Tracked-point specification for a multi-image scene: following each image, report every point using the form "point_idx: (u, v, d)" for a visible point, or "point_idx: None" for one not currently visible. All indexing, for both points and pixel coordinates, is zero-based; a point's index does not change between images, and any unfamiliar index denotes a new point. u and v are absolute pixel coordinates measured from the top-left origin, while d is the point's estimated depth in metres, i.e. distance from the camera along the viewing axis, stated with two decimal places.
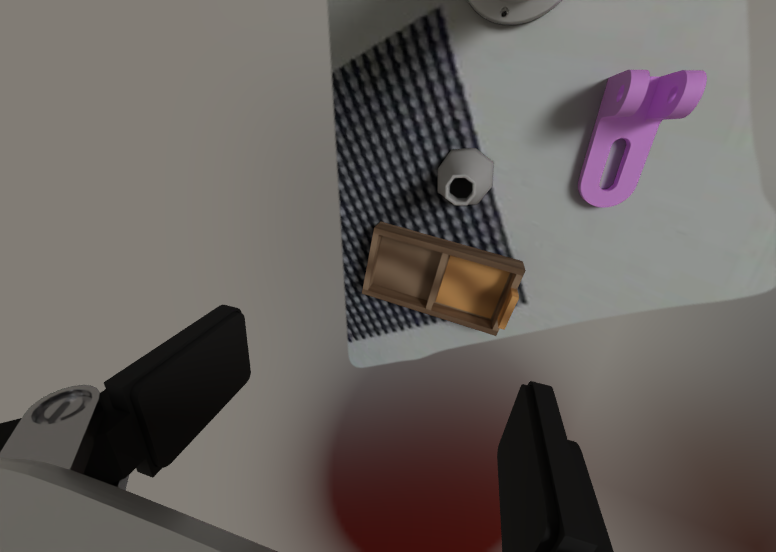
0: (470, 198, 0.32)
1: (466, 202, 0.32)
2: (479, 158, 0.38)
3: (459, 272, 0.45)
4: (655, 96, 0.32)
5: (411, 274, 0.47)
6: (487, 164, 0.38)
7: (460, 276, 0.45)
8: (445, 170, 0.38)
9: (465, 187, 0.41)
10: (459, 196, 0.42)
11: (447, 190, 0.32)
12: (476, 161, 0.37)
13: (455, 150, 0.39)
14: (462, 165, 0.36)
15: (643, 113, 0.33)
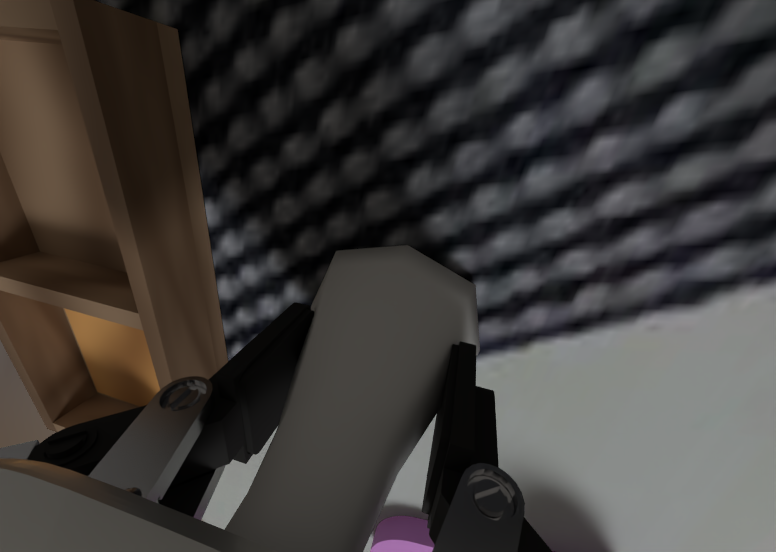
0: None
1: None
2: None
3: None
4: None
5: (69, 193, 0.14)
6: None
7: (141, 331, 0.17)
8: (397, 317, 0.09)
9: None
10: None
11: None
12: None
13: (471, 301, 0.11)
14: (417, 418, 0.08)
15: None
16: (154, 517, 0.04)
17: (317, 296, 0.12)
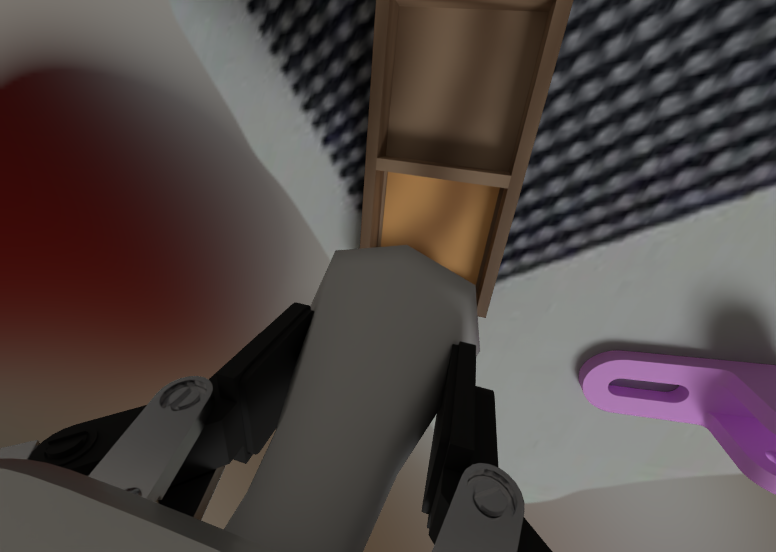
0: None
1: None
2: None
3: (457, 207, 0.24)
4: (746, 420, 0.24)
5: (438, 109, 0.22)
6: None
7: (449, 211, 0.24)
8: (396, 317, 0.09)
9: None
10: None
11: None
12: None
13: (471, 301, 0.11)
14: (416, 419, 0.08)
15: (720, 410, 0.25)
16: (154, 517, 0.04)
17: (316, 296, 0.12)
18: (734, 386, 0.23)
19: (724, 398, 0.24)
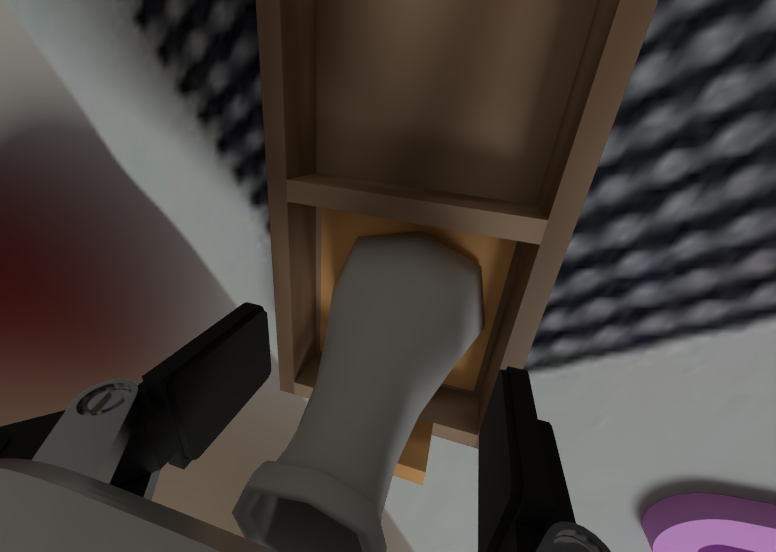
0: None
1: None
2: None
3: None
4: None
5: (404, 86, 0.12)
6: None
7: None
8: (415, 289, 0.11)
9: None
10: None
11: None
12: None
13: (477, 280, 0.13)
14: (434, 372, 0.10)
15: None
16: (154, 517, 0.04)
17: (340, 277, 0.14)
18: None
19: None
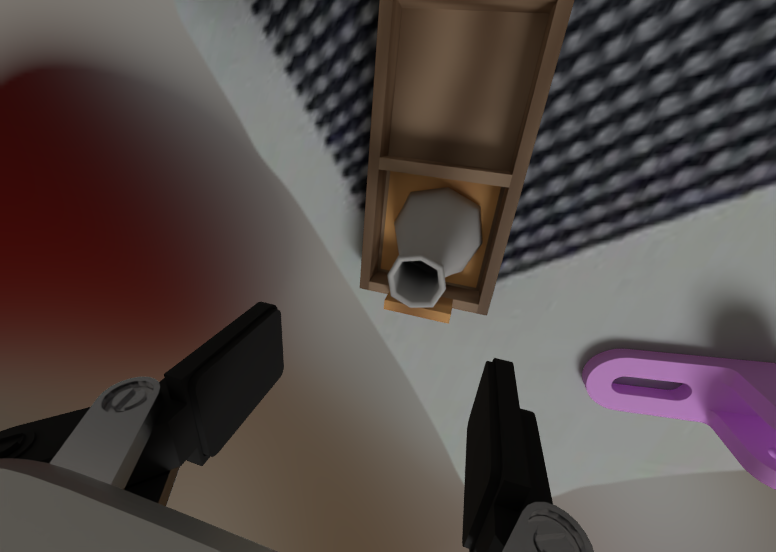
0: (403, 300, 0.18)
1: (395, 294, 0.18)
2: (467, 257, 0.24)
3: None
4: (748, 417, 0.25)
5: (440, 109, 0.22)
6: (459, 269, 0.25)
7: None
8: (447, 212, 0.22)
9: None
10: None
11: (412, 259, 0.17)
12: (463, 259, 0.23)
13: (478, 213, 0.24)
14: (457, 248, 0.21)
15: (723, 408, 0.25)
16: (154, 517, 0.04)
17: (401, 214, 0.25)
18: (737, 384, 0.23)
19: (727, 396, 0.25)
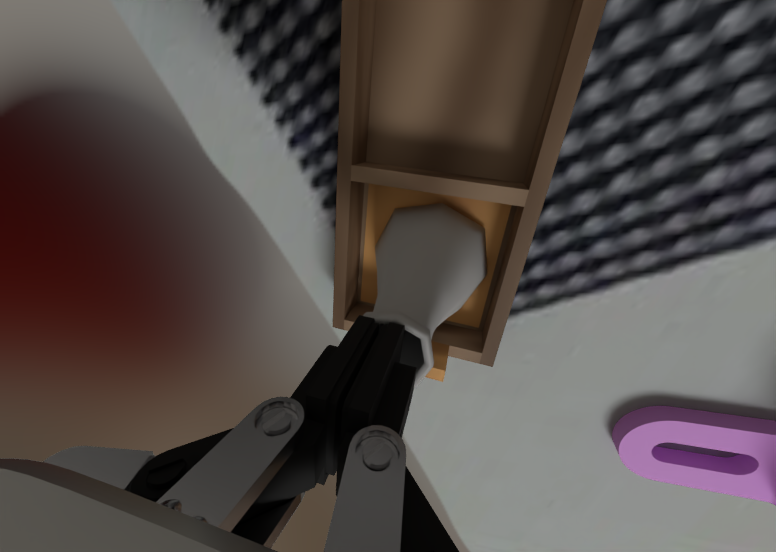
0: None
1: None
2: (467, 294, 0.18)
3: None
4: None
5: (432, 101, 0.17)
6: (457, 307, 0.19)
7: None
8: (440, 239, 0.16)
9: None
10: None
11: None
12: (462, 298, 0.17)
13: (482, 238, 0.18)
14: (454, 290, 0.15)
15: None
16: (154, 517, 0.04)
17: (382, 237, 0.19)
18: None
19: None
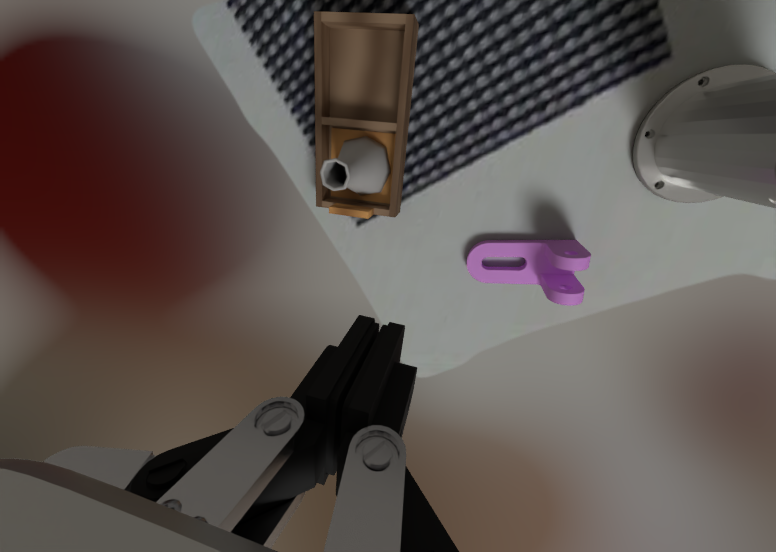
0: (329, 186, 0.32)
1: (325, 183, 0.32)
2: (379, 179, 0.39)
3: None
4: (559, 275, 0.40)
5: (357, 87, 0.37)
6: (376, 188, 0.40)
7: None
8: (362, 147, 0.37)
9: None
10: None
11: (331, 161, 0.31)
12: (375, 177, 0.38)
13: (385, 151, 0.39)
14: (366, 166, 0.35)
15: (546, 271, 0.40)
16: (154, 517, 0.04)
17: None
18: (546, 251, 0.38)
19: (546, 262, 0.40)
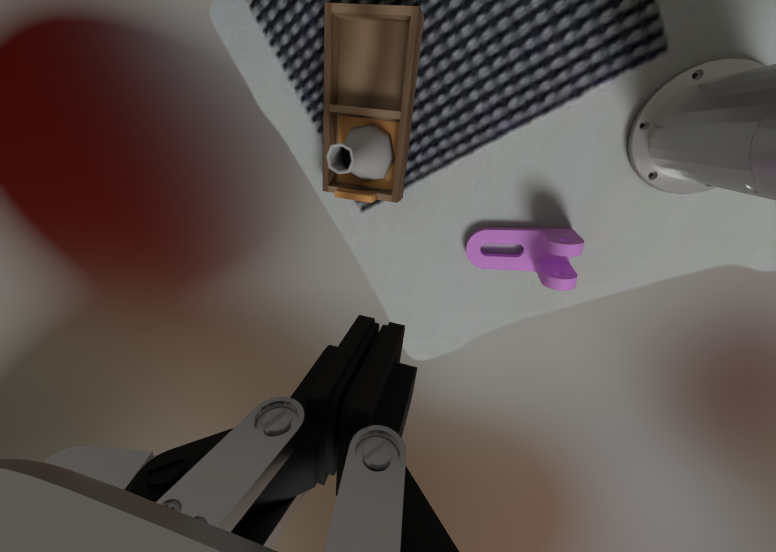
0: (334, 170, 0.34)
1: (330, 167, 0.34)
2: (383, 165, 0.41)
3: None
4: (555, 263, 0.41)
5: (364, 76, 0.39)
6: (380, 174, 0.41)
7: None
8: (367, 134, 0.38)
9: None
10: None
11: (337, 145, 0.33)
12: (379, 164, 0.40)
13: (389, 139, 0.40)
14: (370, 152, 0.37)
15: (542, 259, 0.42)
16: (154, 517, 0.04)
17: None
18: (542, 238, 0.40)
19: (543, 250, 0.41)
